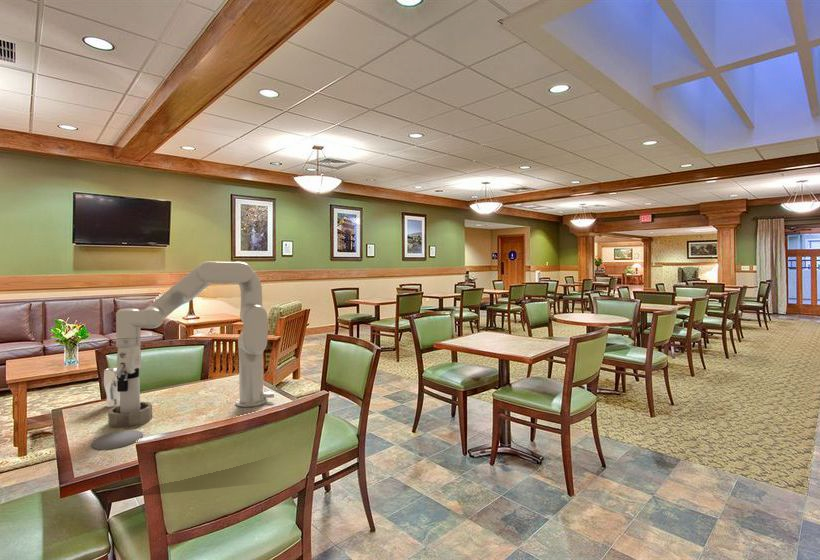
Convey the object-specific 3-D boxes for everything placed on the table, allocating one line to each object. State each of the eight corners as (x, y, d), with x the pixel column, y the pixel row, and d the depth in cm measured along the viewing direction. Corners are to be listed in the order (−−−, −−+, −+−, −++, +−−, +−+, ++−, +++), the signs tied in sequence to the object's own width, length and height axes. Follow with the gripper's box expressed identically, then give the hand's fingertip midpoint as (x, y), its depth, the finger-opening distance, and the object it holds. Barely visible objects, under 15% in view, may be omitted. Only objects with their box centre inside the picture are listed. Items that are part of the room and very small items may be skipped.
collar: (157, 413, 167) (156, 400, 167) (143, 426, 154) (143, 412, 154) (118, 415, 164) (118, 403, 164) (101, 429, 151) (101, 415, 151)
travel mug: (131, 424, 155) (130, 370, 154) (116, 423, 156) (114, 369, 155) (145, 418, 161) (144, 366, 160) (130, 417, 163) (129, 365, 162)
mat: (149, 430, 150) (149, 428, 150) (132, 447, 137) (132, 445, 137) (104, 433, 147) (104, 431, 147) (82, 451, 134) (82, 449, 134)
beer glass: (103, 408, 172) (102, 372, 171) (106, 403, 178) (105, 368, 177) (123, 406, 175) (122, 370, 174) (125, 401, 181) (125, 366, 180)
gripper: (129, 346, 150) (129, 394, 150) (148, 337, 167) (148, 380, 167) (105, 346, 148) (105, 395, 149) (127, 338, 165) (127, 381, 166)
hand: (128, 387), depth 158 cm, fingers open, 9 cm apart
